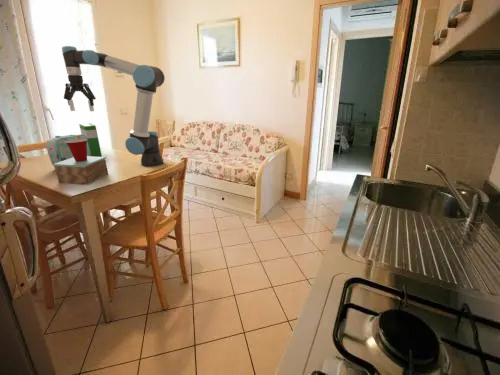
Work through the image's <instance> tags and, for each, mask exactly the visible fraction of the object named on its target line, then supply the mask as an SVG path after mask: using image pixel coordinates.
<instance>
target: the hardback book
mask: <svg viewBox="0 0 500 375" xmlns="http://www.w3.org/2000/svg"><path fill="white" fill-rule="evenodd" d="M79 128H80V134H82V135H85V136H86V138H87V140H88V144H89V148H90V151H91V156H94V157H103V155H102V150H101V146H100V140H99V136H98V130H97V126H96V125H95V124H93V123H90V122H89V123H88V124H81V123H79Z"/></svg>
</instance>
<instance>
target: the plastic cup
mask: <svg viewBox="0 0 500 375" xmlns="http://www.w3.org/2000/svg"><path fill="white" fill-rule="evenodd" d="M65 143H66V144H67V145H68V147H69V149H70V151H71V153H72V155H73V157H74V159H75V161H76V162H81V161H86V160H87V139H78V140H70V141H65Z"/></svg>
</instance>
